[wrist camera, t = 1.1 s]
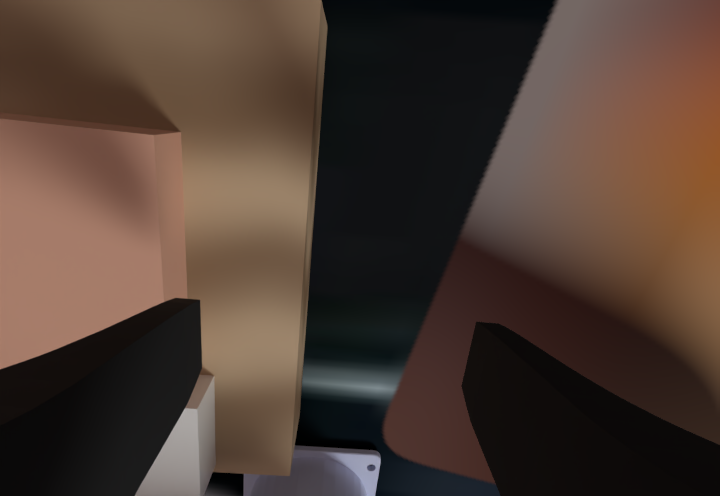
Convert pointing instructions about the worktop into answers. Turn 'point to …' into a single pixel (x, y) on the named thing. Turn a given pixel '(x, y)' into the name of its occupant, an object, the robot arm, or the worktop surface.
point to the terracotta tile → (85, 229)
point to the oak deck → (207, 169)
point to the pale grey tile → (187, 449)
